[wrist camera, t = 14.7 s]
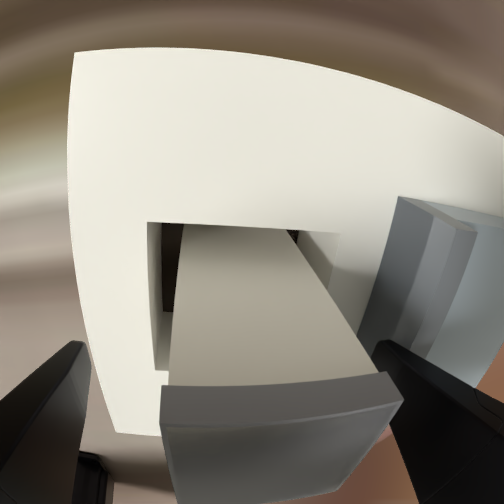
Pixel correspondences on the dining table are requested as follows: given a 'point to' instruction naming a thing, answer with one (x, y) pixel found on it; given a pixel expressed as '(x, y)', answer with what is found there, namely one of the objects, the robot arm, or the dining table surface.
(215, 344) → the peg
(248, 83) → the socket block
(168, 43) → the dining table surface
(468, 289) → the panel
